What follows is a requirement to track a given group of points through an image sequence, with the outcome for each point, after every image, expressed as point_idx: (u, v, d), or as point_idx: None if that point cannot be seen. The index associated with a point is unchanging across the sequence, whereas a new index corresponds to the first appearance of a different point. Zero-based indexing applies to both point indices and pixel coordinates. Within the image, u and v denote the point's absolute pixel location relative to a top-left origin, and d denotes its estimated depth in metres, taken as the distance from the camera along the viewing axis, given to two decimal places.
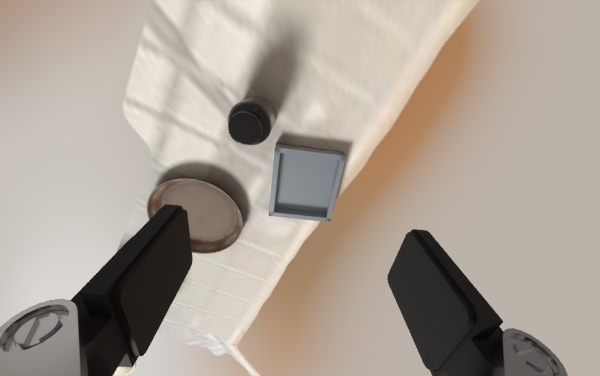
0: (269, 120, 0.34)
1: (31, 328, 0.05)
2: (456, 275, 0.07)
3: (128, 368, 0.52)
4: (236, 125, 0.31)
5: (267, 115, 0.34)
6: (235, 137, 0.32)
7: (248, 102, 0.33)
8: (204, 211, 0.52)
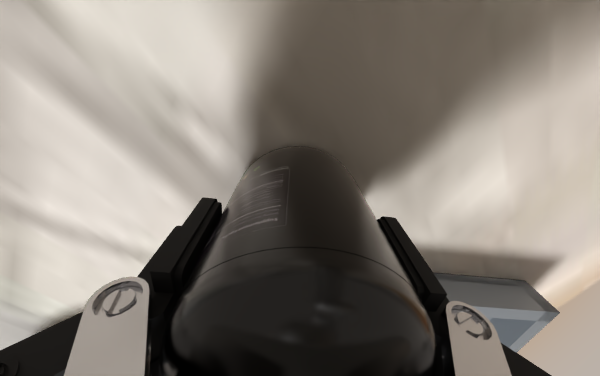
0: None
1: (113, 299, 0.05)
2: (413, 255, 0.08)
3: None
4: None
5: (434, 343, 0.05)
6: None
7: (311, 284, 0.04)
8: None
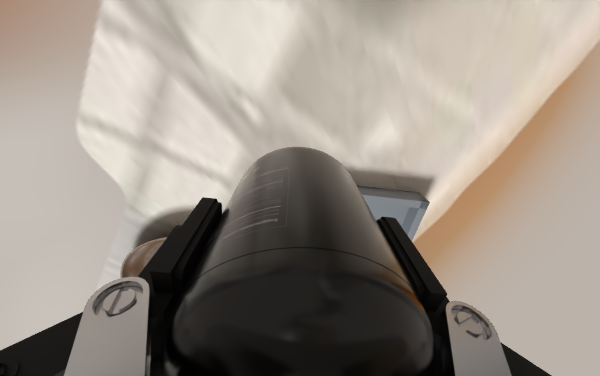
0: None
1: (113, 299, 0.05)
2: (413, 255, 0.08)
3: None
4: None
5: (433, 343, 0.05)
6: None
7: (311, 284, 0.04)
8: None
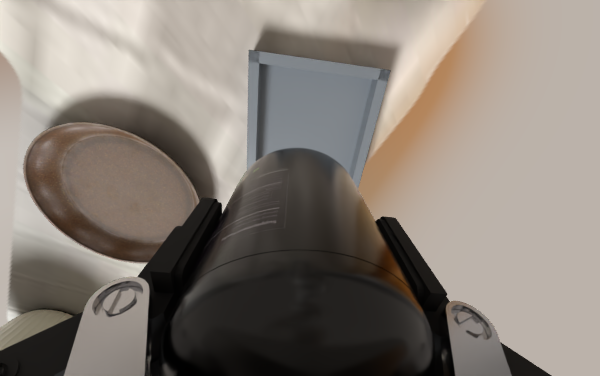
0: (435, 365, 0.05)
1: (113, 299, 0.05)
2: (413, 255, 0.08)
3: None
4: None
5: (433, 346, 0.05)
6: None
7: (309, 287, 0.04)
8: (138, 191, 0.30)
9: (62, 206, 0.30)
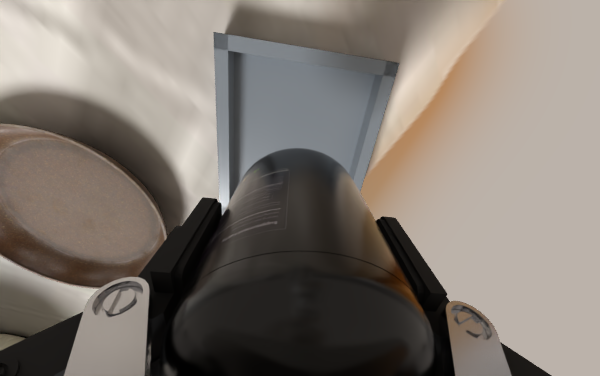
0: (436, 367, 0.05)
1: (113, 299, 0.05)
2: (413, 255, 0.08)
3: None
4: None
5: (434, 347, 0.05)
6: None
7: (311, 288, 0.04)
8: (90, 206, 0.25)
9: None
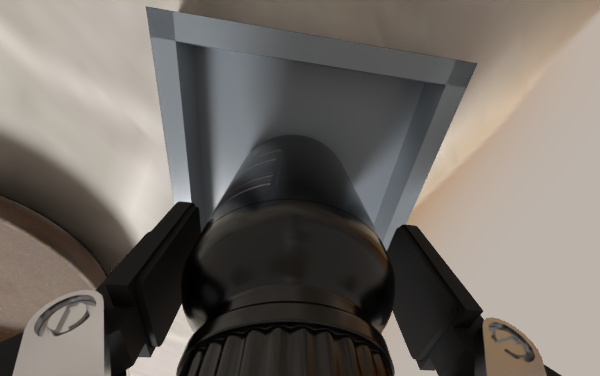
0: None
1: (61, 316, 0.05)
2: (441, 267, 0.07)
3: None
4: None
5: (390, 273, 0.06)
6: None
7: (292, 220, 0.05)
8: (5, 266, 0.18)
9: None
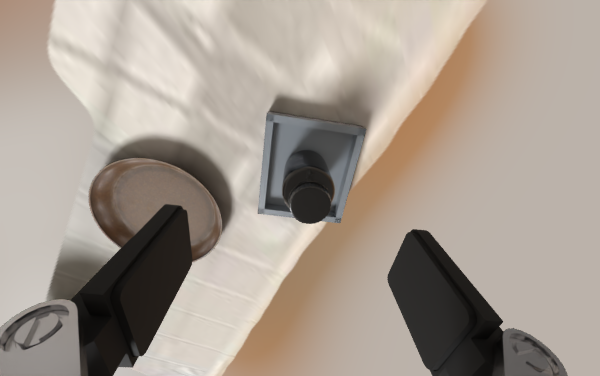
0: (334, 188, 0.28)
1: (31, 328, 0.05)
2: (456, 275, 0.07)
3: None
4: (300, 202, 0.25)
5: (332, 183, 0.28)
6: (297, 215, 0.25)
7: (310, 169, 0.27)
8: None
9: (110, 218, 0.38)
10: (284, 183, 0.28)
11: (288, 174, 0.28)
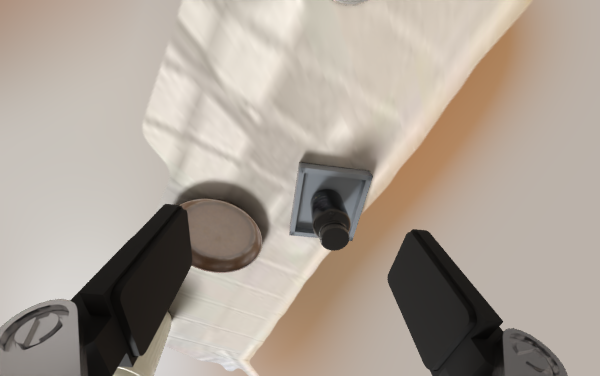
0: (350, 224, 0.39)
1: (31, 328, 0.05)
2: (456, 275, 0.07)
3: None
4: (328, 237, 0.36)
5: (349, 220, 0.39)
6: (325, 245, 0.37)
7: (333, 211, 0.38)
8: (222, 230, 0.50)
9: None
10: (315, 221, 0.39)
11: (317, 214, 0.39)
